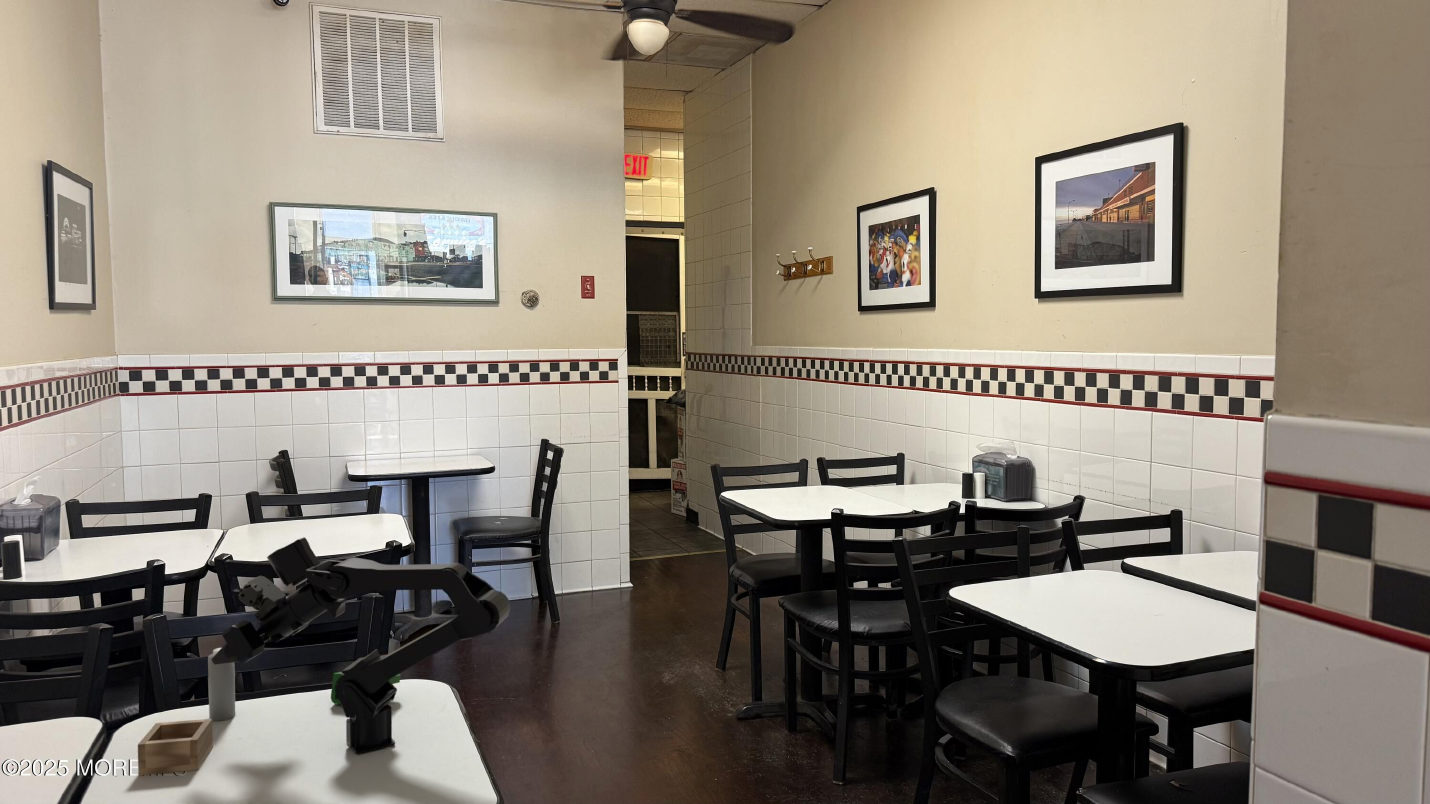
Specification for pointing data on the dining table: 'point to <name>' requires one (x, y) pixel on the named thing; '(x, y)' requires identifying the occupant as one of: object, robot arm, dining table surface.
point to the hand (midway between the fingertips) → (230, 652)
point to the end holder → (175, 747)
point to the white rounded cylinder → (221, 689)
